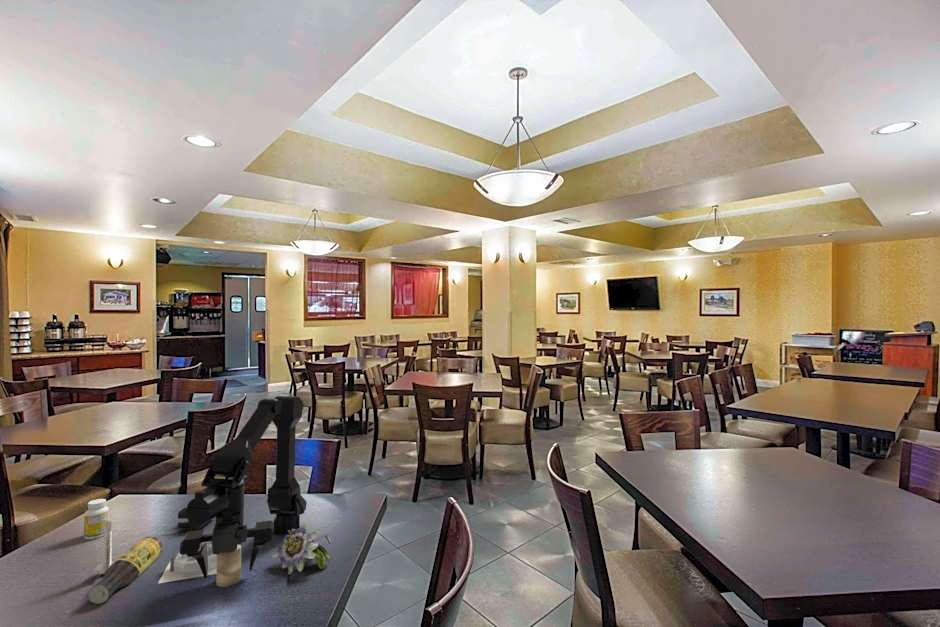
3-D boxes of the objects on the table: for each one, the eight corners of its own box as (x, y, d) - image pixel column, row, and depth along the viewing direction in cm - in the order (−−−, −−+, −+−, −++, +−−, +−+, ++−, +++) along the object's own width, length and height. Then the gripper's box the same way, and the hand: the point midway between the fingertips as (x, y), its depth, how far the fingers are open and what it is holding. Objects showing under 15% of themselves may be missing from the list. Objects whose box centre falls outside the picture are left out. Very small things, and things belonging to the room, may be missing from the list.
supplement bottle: (104, 538, 124) (105, 503, 125) (80, 541, 122) (81, 506, 123) (111, 529, 129) (112, 496, 130) (88, 532, 127) (89, 499, 127)
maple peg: (241, 576, 106) (242, 542, 106) (239, 588, 102) (240, 552, 102) (218, 581, 104) (218, 546, 105) (214, 592, 100) (215, 556, 100)
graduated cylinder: (124, 569, 109) (109, 580, 104) (103, 570, 108) (88, 581, 104) (125, 516, 109) (111, 525, 104) (104, 516, 109) (89, 525, 104)
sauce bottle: (169, 540, 114) (124, 587, 95) (155, 562, 114) (108, 615, 94) (144, 530, 113) (93, 576, 94) (130, 552, 113) (77, 603, 93)
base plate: (233, 553, 117) (233, 549, 117) (226, 576, 106) (226, 571, 106) (171, 563, 112) (171, 559, 112) (157, 587, 101) (157, 583, 101)
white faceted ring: (223, 552, 115) (223, 540, 115) (216, 572, 106) (216, 559, 106) (176, 559, 112) (176, 547, 112) (165, 580, 103) (165, 567, 103)
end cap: (202, 534, 127) (202, 510, 127) (176, 534, 127) (177, 510, 127) (219, 518, 137) (220, 496, 137) (196, 519, 137) (196, 497, 137)
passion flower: (290, 596, 108) (260, 558, 107) (311, 563, 118) (284, 528, 117) (325, 575, 105) (294, 536, 105) (343, 544, 116) (315, 508, 115)
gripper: (173, 527, 92) (172, 602, 92) (271, 514, 99) (270, 584, 99) (187, 506, 103) (185, 574, 103) (274, 495, 109) (273, 559, 109)
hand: (228, 573), depth 103 cm, fingers open, 9 cm apart
